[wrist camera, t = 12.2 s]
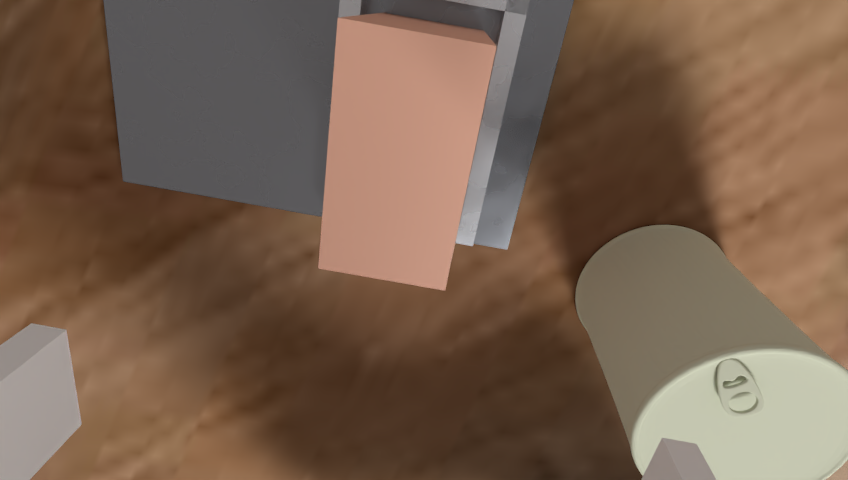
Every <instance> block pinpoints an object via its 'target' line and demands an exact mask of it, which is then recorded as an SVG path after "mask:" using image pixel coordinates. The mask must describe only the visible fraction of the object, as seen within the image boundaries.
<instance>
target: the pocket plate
mask: <svg viewBox="0 0 848 480" xmlns="http://www.w3.org/2000/svg"><path fill="white" fill-rule="evenodd" d="M573 1H574V0H104V10H105V19H106V28H107V37H108V47H109V56H110V65H111V74H112V84H113V93H114V102H115V111H116V121H117V130H118V139H119V148H120V158H121V167H122V176H123V181H124V182H130V183H135V184H141V185H146V186H152V187H158V188H163V189H169V190H175V191H180V192H186V193H191V194H197V195H203V196H208V197H214V198H219V199H225V200H231V201H236V202H242V203H248V204H253V205H259V206H264V207H270V208H276V209H281V210H287V211H293V212H298V213H304V214H309V215H315V216H321V217H322V213H323V201H324V188H325V175H326V162H327V149H328V136H329V123H330V110H331V98H332V85H333V72H334V59H335V46H336V33H337V20H338V18H339V17H348V16H357V15H365V14H374V13H383V12H384V13H389V14H395V15H401V16H406V17H412V18H417V19H423V20H428V21H434V22H440V23H445V24H451V25H456V26H462V27H467V28H473V29H479V30H484V31H485V33H486V34H487V35H488V36H489V37H490V39H491V40H492V41H493V42H494V43H495V45H496V46H497V47H496V52H495V57H494V61H493V66H492V71H491V76H490V80H489V85H488V90H487V95H486V99H485V104H484V109H483V114H482V118H481V123H480V128H479V132H478V137H477V142H476V147H475V151H474V156H473V161H472V166H471V170H470V175H469V180H468V185H467V189H466V194H465V199H464V204H463V208H462V213H461V218H460V223H459V227H458V232H457V237H456V241H455V243H458V244H464V245H469V246H473V244H478V245H484V246H489V247H495V248H500V249H506V250H507V249H508V245H509V241H510V238H511V234H512V230H513V226H514V223H515V219H516V215H517V211H518V208H519V204H520V200H521V196H522V193H523V189H524V185H525V181H526V178H527V174H528V170H529V166H530V163H531V159H532V155H533V151H534V148H535V144H536V140H537V136H538V133H539V129H540V125H541V121H542V118H543V114H544V110H545V106H546V103H547V99H548V95H549V91H550V88H551V84H552V80H553V76H554V73H555V69H556V65H557V61H558V58H559V54H560V50H561V46H562V43H563V39H564V35H565V31H566V28H567V24H568V20H569V16H570V13H571V9H572V5H573Z"/></svg>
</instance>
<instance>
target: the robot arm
mask: <svg viewBox="0 0 848 480" xmlns="http://www.w3.org/2000/svg"><path fill="white" fill-rule="evenodd" d="M80 425H81V418H80V411H79V405H78V399H77V393H76V387H75V380H74V374H73V368H72V362H71V356H70V349H69V343H68V337H67V331H66V330H65V329H60V328H54V327H49V326H43V325H37V324H32V323H31V324H30V325H28V326H27V327H26V328H24V329H23V330H21V331H20V332H19V333H17V334H16V335H14V336H13V337H11V338H10V339H9V340H7V341H6V342H4V343H3V344H2V345H0V480H30V479H31V478H32V477H33V476H34V475H35V474H36V472H37V471H38V470H39V469H40V468H41V467H42V466H43V465H44V464H45V463H46V462H47V461H48V460H49V459H50V458H51V456H52V455H53V454H54V453H55V452H56V451H57V450H58V449H59V448H60V447H61V446H62V445H63V444H64V443H65V442H66V440H67V439H68V438H69V437H70V436H71V435H72V434H73V433H74V432H75V431H76V430H77V429H78V428H79V427H80ZM641 480H716V478H715V476H714V475H713V473H712V471H711V469H710V467H709V465H708V464H707V462H706V460H705V458H704V456H703V455H702V453H701V451H700V449H699V447H698V445H697V444H695V443H689V442H684V441H678V440H673V439H667V438H662V439H661V441H660V443H659V445H658V447H657V449H656V451H655V453H654V455H653V457H652V459H651V461H650V463H649V465H648V467H647V469H646V471H645V473H644V475H643V477H642V479H641Z"/></svg>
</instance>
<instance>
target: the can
mask: <svg viewBox="0 0 848 480" xmlns="http://www.w3.org/2000/svg"><path fill="white" fill-rule="evenodd" d="M575 304H576V309H577V313H578V316H579V319H580V321H581V323H582V324H583V326H584V328H585V329H586V330H587V332H588V335H589V337H590V340H591V342H592V345H593V347H594V350H595V352H596V355H597V357H598V360H599V363H600V365H601V368H602V370H603V373H604V375H605V378H606V381H607V383H608V386H609V389H610V391H611V394H612V397H613V400H614V402H615V405H616V408H617V410H618V413H619V416H620V419H621V421H622V424H623V427H624V430H625V432H626V435H627V438H628V441H629V444H630V448H631V453H632V457H633V460H634V462H635V464H636V467H637V468H638V470H639V471H640V473H641V474H642V476H643V475H644V473H645V471H646V469H647V467H648V465H649V463H650V461H651V459H652V457H653V455H654V453H655V451H656V449H657V447H658V445H659V443H660V441H661V439H662V438H667V439H673V440H678V441H684V442H689V443H695V444H697V445H698V447H699V449H700V451H701V453H702V455H703V456H704V458H705V460H706V462H707V464H708V465H709V467H710V469H711V471H712V473H713V475H714V476H715V478H716V480H825V479H827V478H828V477H830V476H831V475H832V474H833V473H834V472H836V471H837V470H838V469H839V468H840V467H841V466H842V465H843V464H844V463H845V462H846V461H847V460H848V370H847V369H845V368H844V367H843V366H842V365H840V364H839V363H838V362H836V361H835V360H833V359H832V358H831V357H830V356H829V355H828V354H826V353H825V352H824V351H823V350H822V349H821V348H820V347H819V346H818V345H816V344H815V343H814V342H813V341H812V340H811V339H810V338H809V337H808V336H807V335H806V334H805V333H804V332H802V331H801V330H800V329H799V328H798V327H797V326H796V325H795V324H794V323H793V322H792V321H791V320H790V319H789V318H788V317H787V316H786V315H785V314H783V313H782V312H781V311H780V310H779V309H778V308H777V307H776V306H775V305H774V304H773V303H772V302H771V301H770V300H769V299H768V298H767V297H766V296H764V295H763V294H762V293H761V292H760V291H759V290H758V289H757V288H756V287H755V286H754V285H753V284H752V283H751V282H750V281H749V280H748V279H747V278H746V277H745V276H744V275H743V274H742V273H741V272H740V271H739V270H738V269H737V268H736V267H735V266H734V265H733V264H732V263H731V262H730V261H729V260H728V259H727V258H726V256H725V254H724V253H723V252H722V250H721V249H720V248H719V246H718V245H717V244H716V243H715V242H713V241H712V240H711V239H710V238H708V237H707V236H705V235H703V234H702V233H700V232H697V231H695V230H693V229H689V228H686V227H682V226H676V225H652V226H646V227H641V228H637V229H634V230H631V231H628V232H626V233H624V234H621V235H619V236H617V237H616V238H614V239H612V240H611V241H609V242H608V243H606V244H605V245H604V246H602V247H601V248H600V249H599V250H598V251H597V252H596V253H595V254H594V255H593V256H592V257H591V258H590V260H589V261H588V262H587V264H586V265H585V267H584V269H583V270H582V272H581V274H580V277H579V280H578V283H577V286H576V293H575Z"/></svg>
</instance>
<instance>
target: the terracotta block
mask: <svg viewBox="0 0 848 480" xmlns="http://www.w3.org/2000/svg"><path fill="white" fill-rule="evenodd" d="M496 47H497V46H496V45H495V43H494V42H493V41H492V40H491V39H490V37H489V36H488V35H487V34H486V33H485V31H484V30H479V29H473V28H467V27H462V26H456V25H451V24H445V23H440V22H434V21H428V20H423V19H417V18H412V17H406V16H401V15H395V14H389V13H384V12H383V13H374V14H365V15H357V16H348V17H339V18H338V20H337V33H336V46H335V59H334V72H333V85H332V98H331V110H330V123H329V136H328V149H327V162H326V175H325V188H324V201H323V213H322V226H321V239H320V252H319V265H318V268H319V269H324V270H330V271H336V272H342V273H347V274H353V275H359V276H364V277H370V278H376V279H382V280H387V281H393V282H399V283H404V284H410V285H416V286H422V287H427V288H433V289H439V290H444V291H445V289H446V284H447V279H448V275H449V270H450V265H451V260H452V256H453V251H454V246H455V241H456V237H457V232H458V227H459V223H460V218H461V213H462V208H463V204H464V199H465V194H466V189H467V185H468V180H469V175H470V170H471V166H472V161H473V156H474V151H475V147H476V142H477V137H478V132H479V128H480V123H481V118H482V114H483V109H484V104H485V99H486V95H487V90H488V85H489V80H490V76H491V71H492V66H493V61H494V57H495V52H496Z"/></svg>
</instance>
